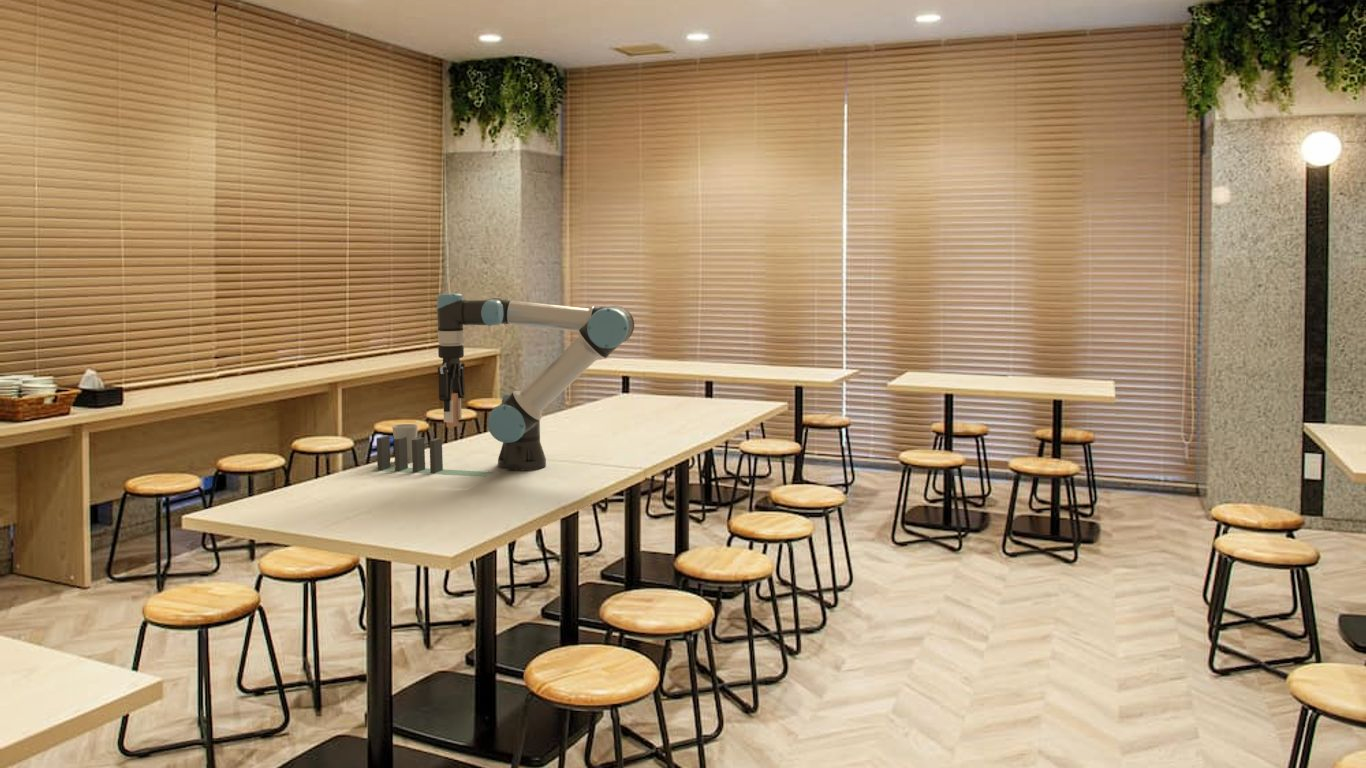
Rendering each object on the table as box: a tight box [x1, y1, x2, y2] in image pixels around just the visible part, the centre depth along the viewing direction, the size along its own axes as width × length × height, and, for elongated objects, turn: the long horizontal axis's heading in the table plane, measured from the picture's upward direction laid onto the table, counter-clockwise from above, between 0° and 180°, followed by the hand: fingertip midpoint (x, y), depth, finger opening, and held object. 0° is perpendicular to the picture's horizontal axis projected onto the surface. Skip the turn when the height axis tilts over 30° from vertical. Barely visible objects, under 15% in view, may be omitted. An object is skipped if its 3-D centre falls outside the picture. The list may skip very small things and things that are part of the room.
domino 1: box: [376, 435, 392, 470], centre depth 336 cm, size 2×5×10 cm, turn 165°
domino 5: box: [445, 392, 460, 429], centre depth 328 cm, size 2×5×10 cm, turn 166°
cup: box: [392, 423, 419, 464], centre depth 348 cm, size 8×8×12 cm
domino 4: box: [429, 437, 444, 473], centre depth 332 cm, size 2×5×10 cm, turn 165°
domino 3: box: [411, 436, 426, 472], centre depth 333 cm, size 2×5×10 cm, turn 166°
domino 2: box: [393, 437, 409, 471], centre depth 334 cm, size 2×5×10 cm, turn 165°
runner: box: [370, 466, 494, 478], centre depth 332 cm, size 38×7×1 cm, turn 76°
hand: (452, 420), depth 329 cm, fingers closed on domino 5, 5 cm apart
